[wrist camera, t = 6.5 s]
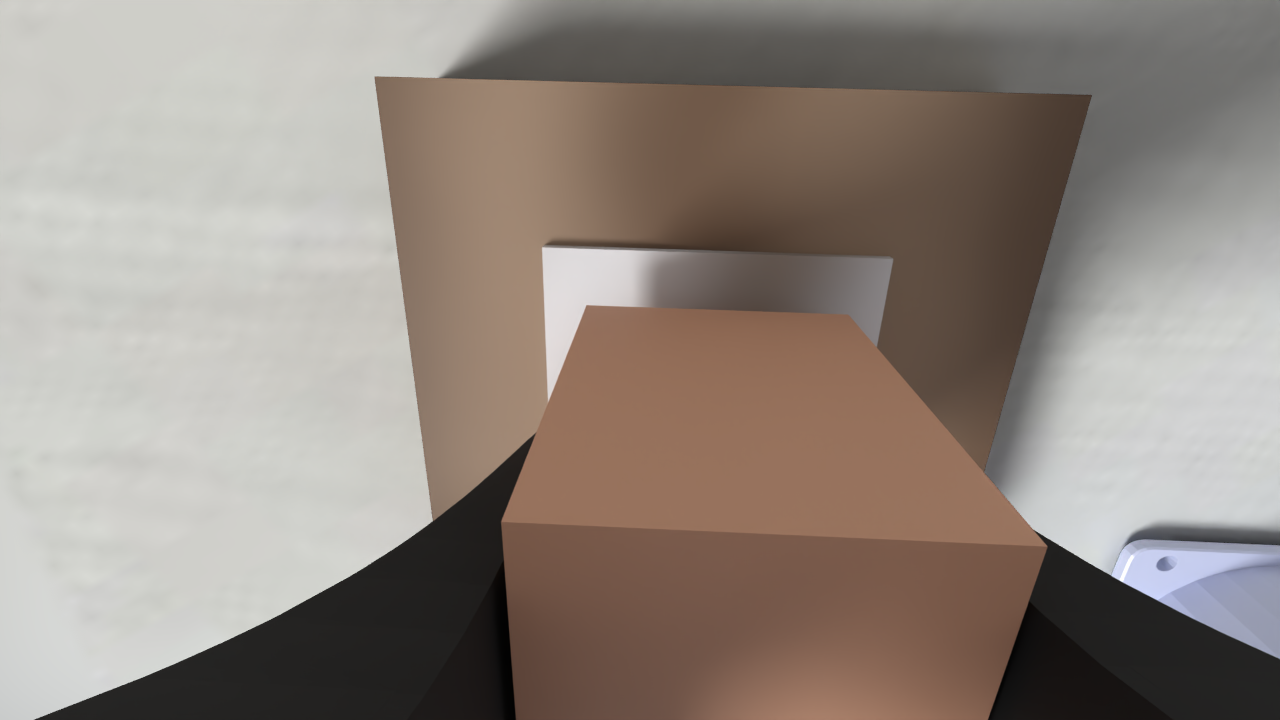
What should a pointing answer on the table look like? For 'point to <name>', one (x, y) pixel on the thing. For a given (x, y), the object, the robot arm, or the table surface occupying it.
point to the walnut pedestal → (710, 232)
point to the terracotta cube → (754, 532)
